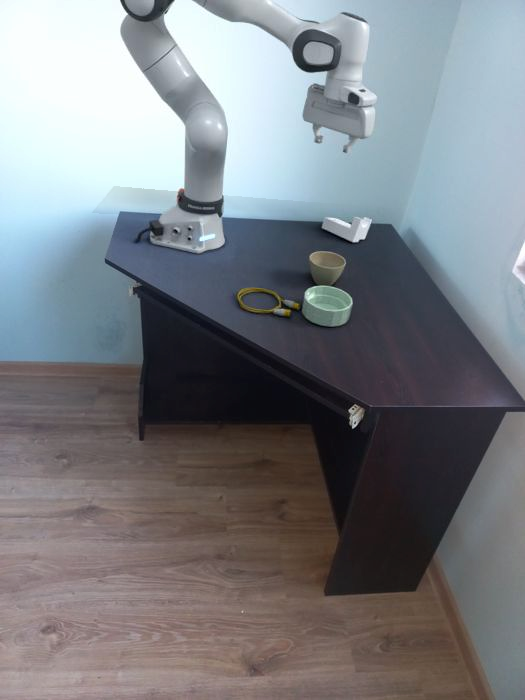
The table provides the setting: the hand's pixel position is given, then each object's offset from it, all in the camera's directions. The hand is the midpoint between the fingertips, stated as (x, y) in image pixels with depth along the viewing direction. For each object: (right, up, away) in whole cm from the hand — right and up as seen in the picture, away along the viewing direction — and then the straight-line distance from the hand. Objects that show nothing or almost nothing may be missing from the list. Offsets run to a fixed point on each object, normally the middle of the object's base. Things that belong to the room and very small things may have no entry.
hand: (332, 147), depth 141 cm
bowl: (-2, -44, -5) cm, 45 cm away
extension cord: (-18, -42, -4) cm, 46 cm away
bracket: (+9, -15, +37) cm, 41 cm away
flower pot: (-1, -34, +9) cm, 36 cm away
